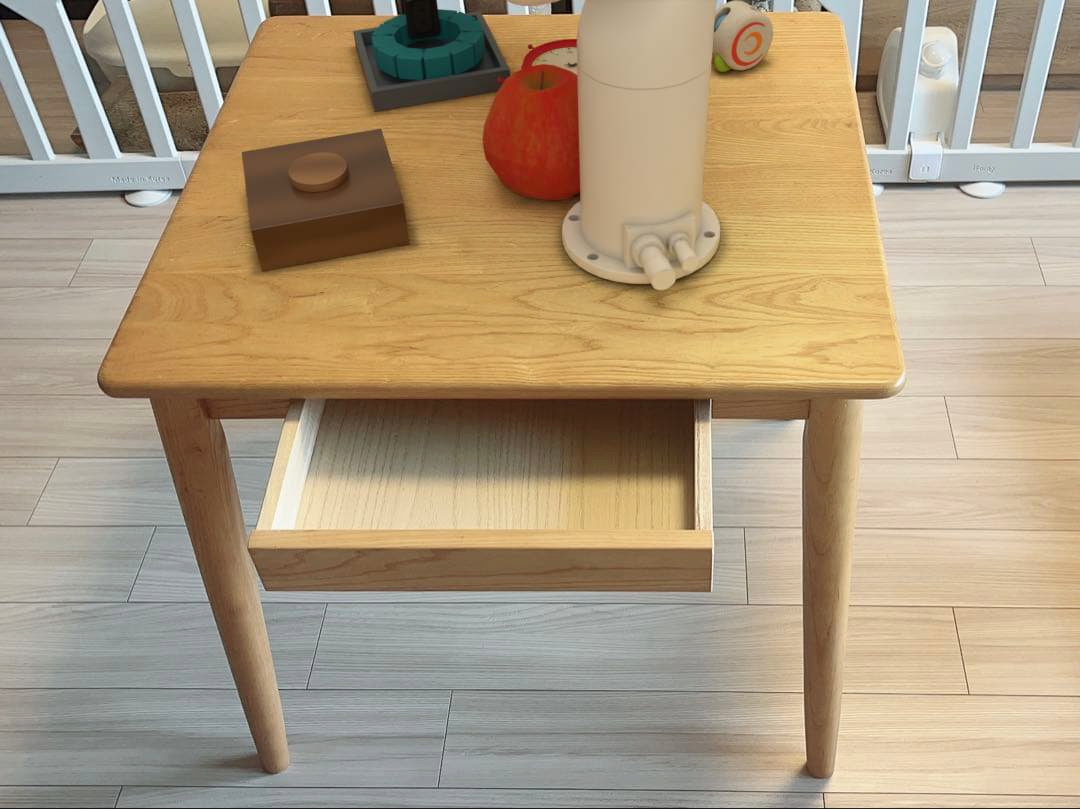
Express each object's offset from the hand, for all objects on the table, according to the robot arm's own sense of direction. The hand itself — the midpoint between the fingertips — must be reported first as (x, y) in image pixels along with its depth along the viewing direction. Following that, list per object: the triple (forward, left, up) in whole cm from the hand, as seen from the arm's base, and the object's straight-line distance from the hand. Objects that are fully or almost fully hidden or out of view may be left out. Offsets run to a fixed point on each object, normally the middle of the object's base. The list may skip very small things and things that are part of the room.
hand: (421, 27), depth 114 cm
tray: (-4, 0, -2) cm, 5 cm away
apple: (-28, -6, -3) cm, 29 cm away
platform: (-27, +13, -2) cm, 30 cm away
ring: (-4, 0, -1) cm, 4 cm away
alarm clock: (-16, -13, -3) cm, 21 cm away
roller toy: (-13, -29, -3) cm, 32 cm away
